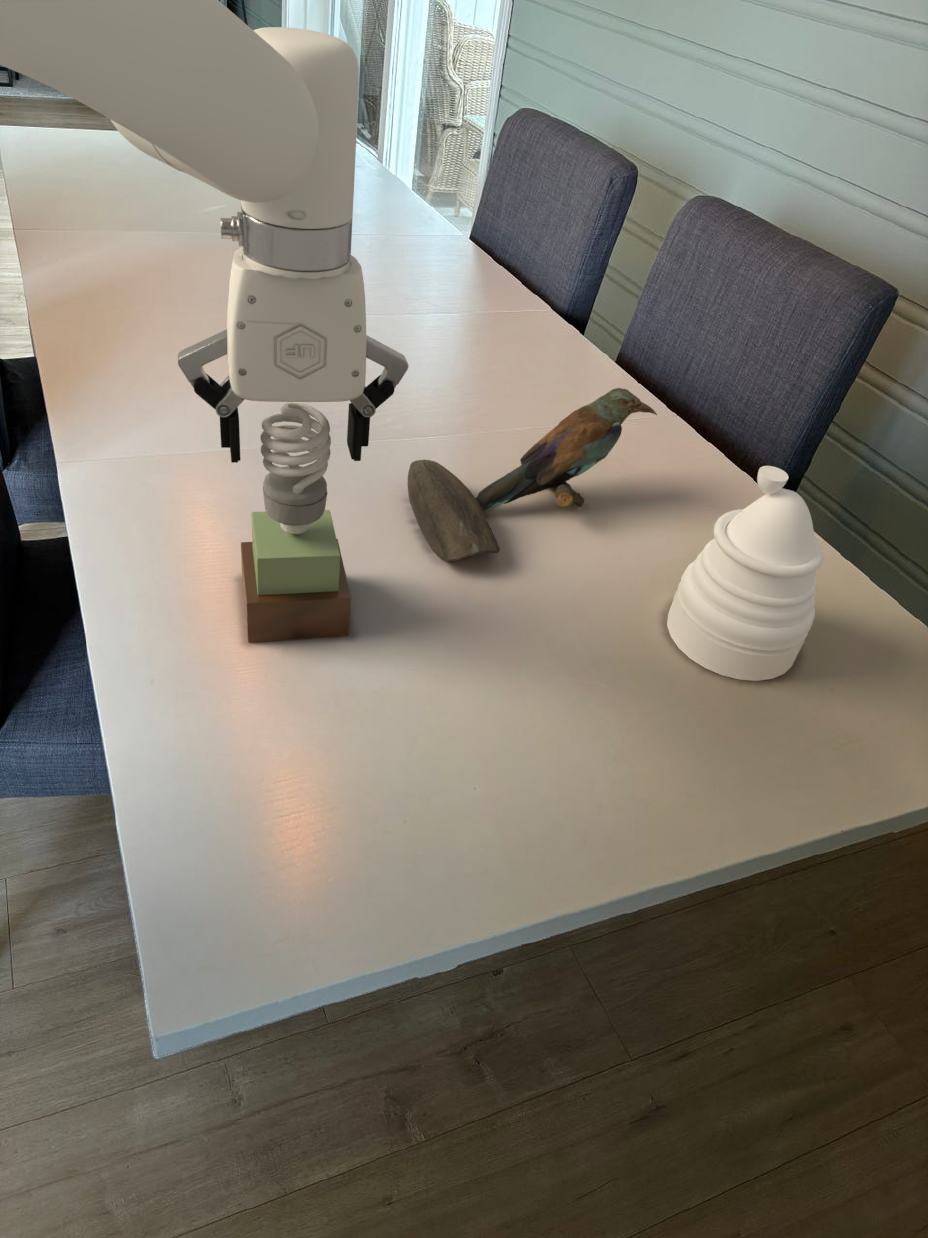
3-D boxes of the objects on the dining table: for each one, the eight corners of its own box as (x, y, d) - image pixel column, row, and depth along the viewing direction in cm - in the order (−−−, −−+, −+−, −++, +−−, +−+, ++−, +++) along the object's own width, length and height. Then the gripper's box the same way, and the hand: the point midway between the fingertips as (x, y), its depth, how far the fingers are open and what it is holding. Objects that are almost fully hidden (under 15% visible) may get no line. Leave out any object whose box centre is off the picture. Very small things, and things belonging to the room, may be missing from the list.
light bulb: (255, 519, 81) (252, 394, 73) (316, 511, 83) (320, 389, 75) (270, 556, 77) (269, 429, 69) (335, 547, 79) (341, 423, 71)
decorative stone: (503, 569, 94) (509, 536, 91) (445, 578, 92) (450, 544, 89) (444, 481, 106) (448, 449, 103) (391, 486, 103) (394, 454, 101)
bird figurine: (492, 538, 96) (607, 377, 90) (450, 491, 103) (554, 337, 97) (569, 570, 106) (678, 426, 100) (526, 525, 112) (625, 387, 106)
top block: (257, 595, 79) (256, 558, 76) (252, 547, 84) (251, 511, 81) (338, 591, 81) (340, 555, 78) (328, 544, 86) (329, 509, 83)
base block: (247, 642, 81) (246, 603, 78) (242, 579, 87) (240, 541, 84) (349, 636, 83) (351, 598, 80) (335, 575, 90) (337, 538, 87)
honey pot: (655, 653, 87) (712, 493, 75) (678, 580, 96) (732, 428, 85) (790, 698, 84) (870, 539, 73) (800, 618, 94) (872, 467, 82)
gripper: (167, 252, 59) (185, 479, 70) (428, 264, 63) (407, 476, 74) (167, 214, 64) (184, 430, 75) (408, 227, 69) (391, 430, 80)
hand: (295, 453), depth 75 cm, fingers open, 9 cm apart
